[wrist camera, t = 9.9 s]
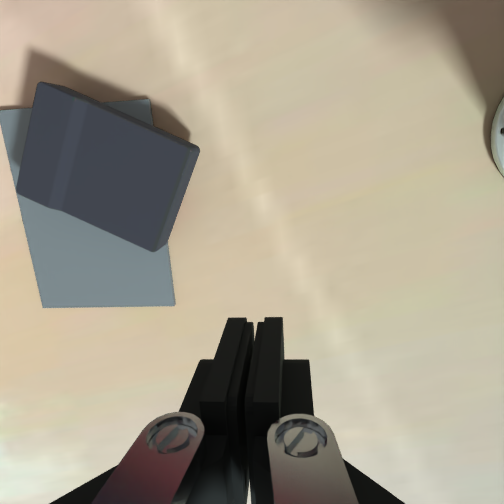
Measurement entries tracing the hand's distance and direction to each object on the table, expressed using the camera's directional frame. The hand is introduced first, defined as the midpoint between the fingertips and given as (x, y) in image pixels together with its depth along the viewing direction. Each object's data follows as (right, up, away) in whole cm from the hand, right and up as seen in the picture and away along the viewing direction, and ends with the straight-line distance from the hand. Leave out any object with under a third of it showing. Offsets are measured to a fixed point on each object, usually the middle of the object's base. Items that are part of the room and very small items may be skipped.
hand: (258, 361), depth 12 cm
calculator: (-7, +8, +26) cm, 28 cm away
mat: (-18, +8, +30) cm, 36 cm away
